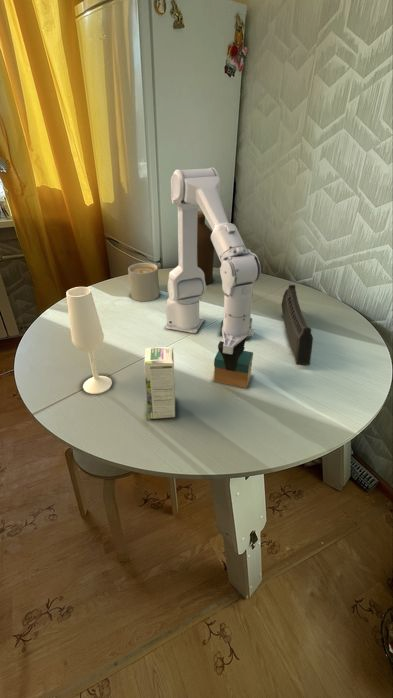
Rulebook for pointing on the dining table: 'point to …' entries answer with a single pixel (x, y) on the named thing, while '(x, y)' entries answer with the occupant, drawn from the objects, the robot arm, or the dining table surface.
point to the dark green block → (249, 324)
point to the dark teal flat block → (243, 361)
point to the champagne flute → (86, 333)
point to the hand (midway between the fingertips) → (233, 362)
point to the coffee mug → (144, 281)
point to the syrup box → (160, 382)
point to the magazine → (296, 328)
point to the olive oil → (204, 248)
